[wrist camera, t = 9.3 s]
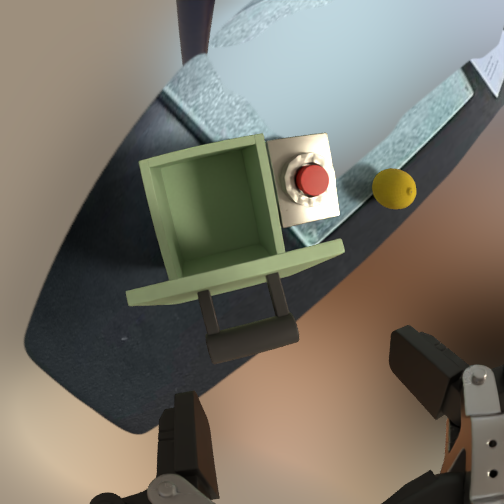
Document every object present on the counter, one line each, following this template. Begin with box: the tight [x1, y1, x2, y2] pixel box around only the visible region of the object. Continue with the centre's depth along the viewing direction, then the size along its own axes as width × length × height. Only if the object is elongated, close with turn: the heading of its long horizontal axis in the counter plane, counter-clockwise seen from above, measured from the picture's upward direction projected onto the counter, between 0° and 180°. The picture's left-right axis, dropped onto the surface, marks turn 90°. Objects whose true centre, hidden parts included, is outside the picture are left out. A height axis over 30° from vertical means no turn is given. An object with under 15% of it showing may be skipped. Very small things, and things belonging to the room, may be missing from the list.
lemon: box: [372, 168, 416, 209], centre depth 37 cm, size 6×6×8 cm
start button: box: [296, 165, 329, 196], centre depth 34 cm, size 4×4×2 cm
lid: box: [126, 239, 345, 364], centre depth 22 cm, size 15×12×5 cm
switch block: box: [265, 133, 340, 228], centre depth 36 cm, size 11×8×4 cm
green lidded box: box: [139, 133, 285, 281], centre depth 33 cm, size 14×12×10 cm
